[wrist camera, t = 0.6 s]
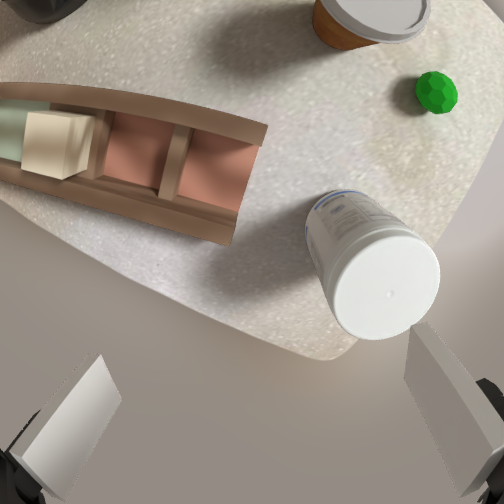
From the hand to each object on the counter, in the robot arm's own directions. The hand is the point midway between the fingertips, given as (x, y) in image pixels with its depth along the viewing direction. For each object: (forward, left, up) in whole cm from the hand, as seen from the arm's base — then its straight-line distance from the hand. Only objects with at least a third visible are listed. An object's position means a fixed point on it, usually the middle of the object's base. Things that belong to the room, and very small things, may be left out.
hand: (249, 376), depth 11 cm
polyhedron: (-20, +14, -24) cm, 34 cm away
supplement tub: (-1, +10, -24) cm, 27 cm away
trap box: (-3, -20, -24) cm, 31 cm away
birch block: (-3, -22, -21) cm, 31 cm away
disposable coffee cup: (-23, +2, -24) cm, 33 cm away
